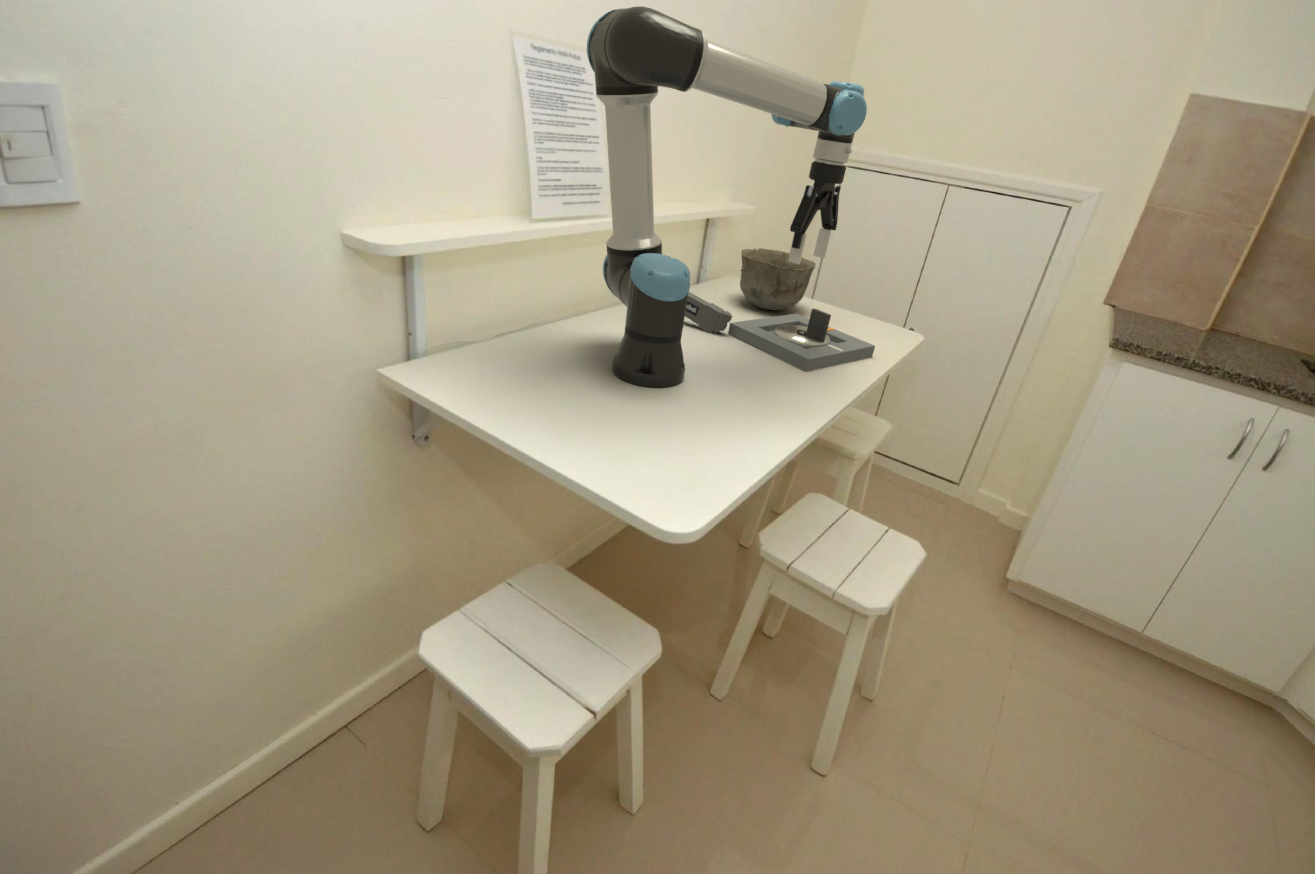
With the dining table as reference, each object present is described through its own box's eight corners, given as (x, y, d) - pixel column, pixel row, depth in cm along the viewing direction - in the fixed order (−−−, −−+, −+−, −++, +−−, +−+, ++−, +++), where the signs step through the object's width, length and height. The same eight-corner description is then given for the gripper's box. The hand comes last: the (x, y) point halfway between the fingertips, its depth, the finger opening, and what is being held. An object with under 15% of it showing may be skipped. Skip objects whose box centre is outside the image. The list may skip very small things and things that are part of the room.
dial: (804, 352, 157) (812, 318, 153) (762, 332, 166) (769, 300, 162) (840, 345, 165) (848, 313, 162) (798, 327, 175) (805, 296, 171)
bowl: (762, 293, 208) (772, 245, 201) (819, 314, 195) (831, 264, 188) (716, 300, 194) (724, 249, 187) (773, 323, 181) (784, 269, 174)
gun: (701, 363, 171) (730, 318, 162) (629, 307, 175) (654, 259, 167) (706, 360, 173) (735, 315, 165) (635, 305, 178) (660, 258, 169)
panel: (805, 371, 150) (809, 358, 149) (727, 334, 167) (730, 322, 166) (871, 356, 166) (875, 345, 164) (794, 324, 183) (797, 312, 182)
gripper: (821, 164, 132) (797, 269, 142) (866, 165, 151) (842, 258, 161) (788, 158, 136) (767, 261, 146) (836, 160, 155) (814, 251, 164)
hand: (806, 260), depth 153 cm, fingers open, 13 cm apart
